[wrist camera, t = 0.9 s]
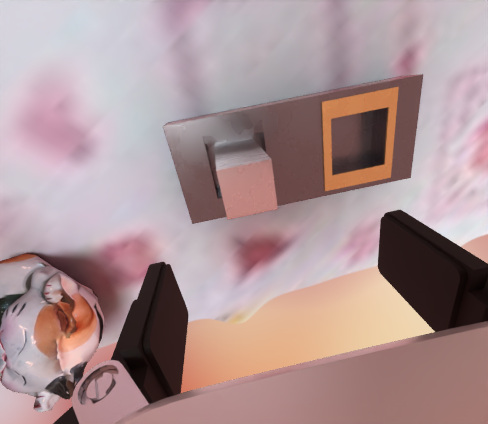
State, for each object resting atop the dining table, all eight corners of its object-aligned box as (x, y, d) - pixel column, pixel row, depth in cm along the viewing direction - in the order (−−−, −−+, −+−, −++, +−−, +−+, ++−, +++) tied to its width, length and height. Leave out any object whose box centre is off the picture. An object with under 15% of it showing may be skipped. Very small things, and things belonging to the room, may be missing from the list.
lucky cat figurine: (-19, 237, 28) (-71, 302, 17) (104, 243, 35) (124, 290, 24) (-34, 361, 30) (-92, 493, 18) (86, 342, 37) (97, 429, 26)
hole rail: (167, 122, 25) (162, 126, 22) (401, 76, 26) (424, 74, 23) (194, 211, 30) (192, 224, 27) (392, 169, 30) (411, 178, 27)
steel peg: (214, 145, 26) (216, 170, 18) (252, 138, 26) (271, 159, 18) (222, 182, 28) (227, 219, 20) (258, 174, 28) (277, 209, 20)
